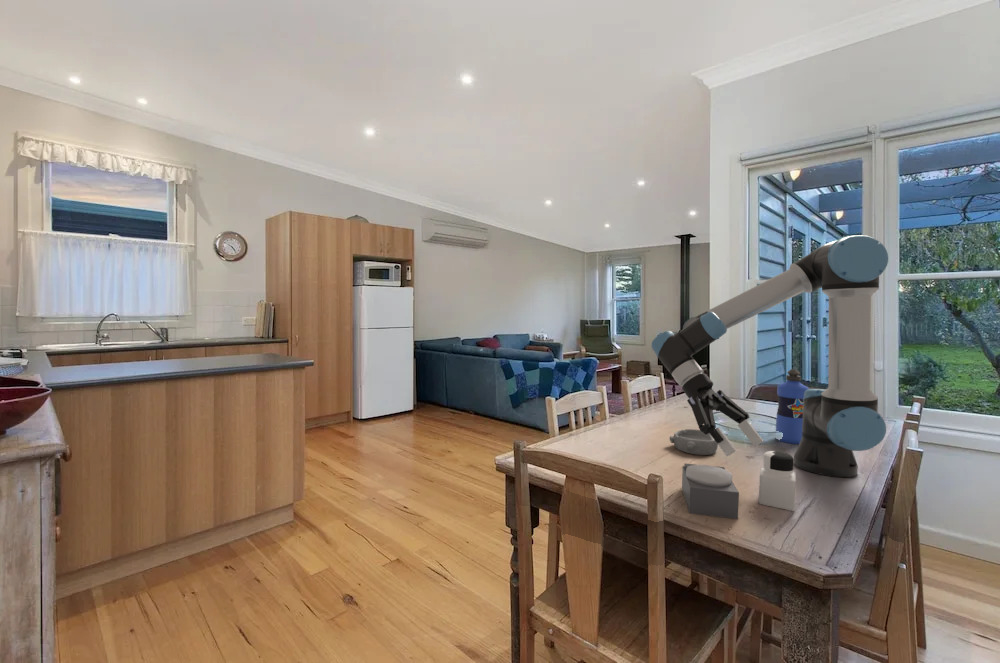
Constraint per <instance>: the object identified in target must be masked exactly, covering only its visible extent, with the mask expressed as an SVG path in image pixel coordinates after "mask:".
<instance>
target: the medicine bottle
mask: <svg viewBox="0 0 1000 663" xmlns="http://www.w3.org/2000/svg"><path fill="white" fill-rule="evenodd" d="M759 473H760V474H759V486H758V487H759V488H758V490H759V491H758V504H759V505H762V504H763V506H768V507H770V508H771V507H772V508H777V509H780V510H781V509H782V510H786V511H792V512H794V511H795V507H796V503H795V502H796V485H797V481H796V472H795V471H794V456H792V455H790V454H789V453H787V452H784V451H778V450H769V451H766V452H764V454H763V466H761V468H760V471H759Z"/></svg>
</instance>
